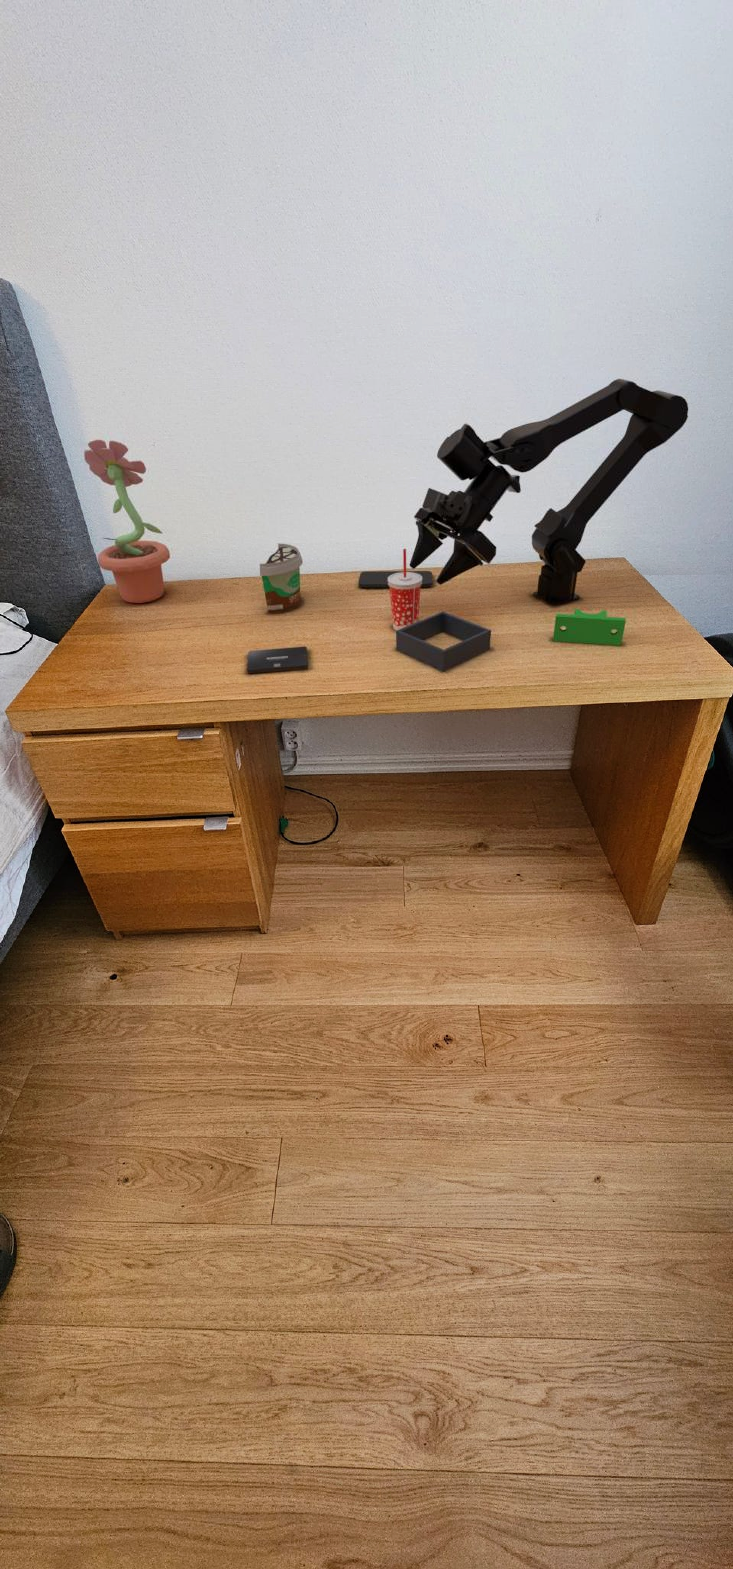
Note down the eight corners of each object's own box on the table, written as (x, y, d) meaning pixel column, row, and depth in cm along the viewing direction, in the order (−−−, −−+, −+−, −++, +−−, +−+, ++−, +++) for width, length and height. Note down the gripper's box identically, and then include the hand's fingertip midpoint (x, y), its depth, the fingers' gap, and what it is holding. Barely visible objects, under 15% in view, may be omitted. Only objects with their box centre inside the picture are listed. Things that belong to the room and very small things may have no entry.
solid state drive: (308, 668, 115) (307, 664, 114) (247, 673, 114) (246, 670, 114) (307, 649, 120) (306, 646, 120) (248, 654, 120) (248, 650, 119)
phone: (432, 583, 140) (358, 584, 141) (432, 587, 140) (358, 588, 141) (432, 570, 146) (360, 571, 147) (432, 574, 146) (360, 575, 147)
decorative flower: (193, 585, 147) (161, 428, 129) (167, 611, 137) (128, 445, 119) (128, 583, 150) (88, 429, 132) (97, 609, 139) (49, 446, 121)
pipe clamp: (620, 636, 119) (625, 611, 117) (620, 646, 116) (626, 620, 114) (553, 631, 122) (556, 606, 119) (552, 641, 119) (555, 615, 116)
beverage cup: (410, 616, 130) (410, 541, 121) (429, 628, 125) (429, 550, 117) (382, 624, 127) (379, 548, 119) (400, 636, 123) (398, 558, 114)
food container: (296, 617, 131) (291, 565, 125) (265, 616, 133) (258, 564, 127) (313, 592, 141) (309, 543, 135) (284, 591, 142) (278, 542, 136)
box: (442, 629, 125) (442, 611, 122) (489, 649, 118) (491, 630, 115) (396, 649, 119) (395, 630, 117) (443, 671, 112) (443, 652, 110)
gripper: (423, 458, 121) (369, 534, 124) (484, 480, 107) (423, 565, 110) (460, 497, 128) (409, 569, 131) (522, 522, 114) (463, 601, 117)
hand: (424, 575), depth 122 cm, fingers open, 9 cm apart
